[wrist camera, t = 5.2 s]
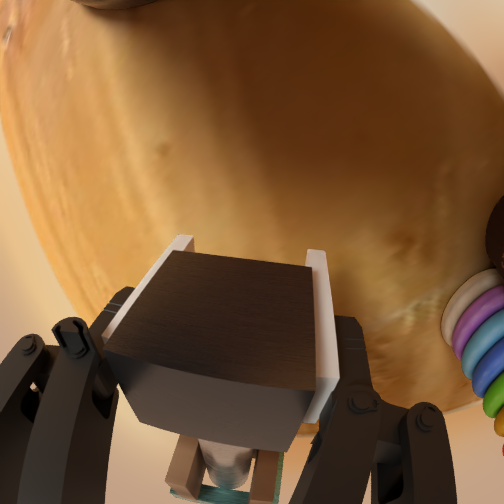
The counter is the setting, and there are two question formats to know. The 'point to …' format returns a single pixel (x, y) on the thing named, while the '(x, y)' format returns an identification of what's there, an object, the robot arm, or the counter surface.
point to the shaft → (220, 356)
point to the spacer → (232, 491)
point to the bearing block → (193, 468)
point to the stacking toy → (480, 338)
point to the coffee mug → (496, 236)
